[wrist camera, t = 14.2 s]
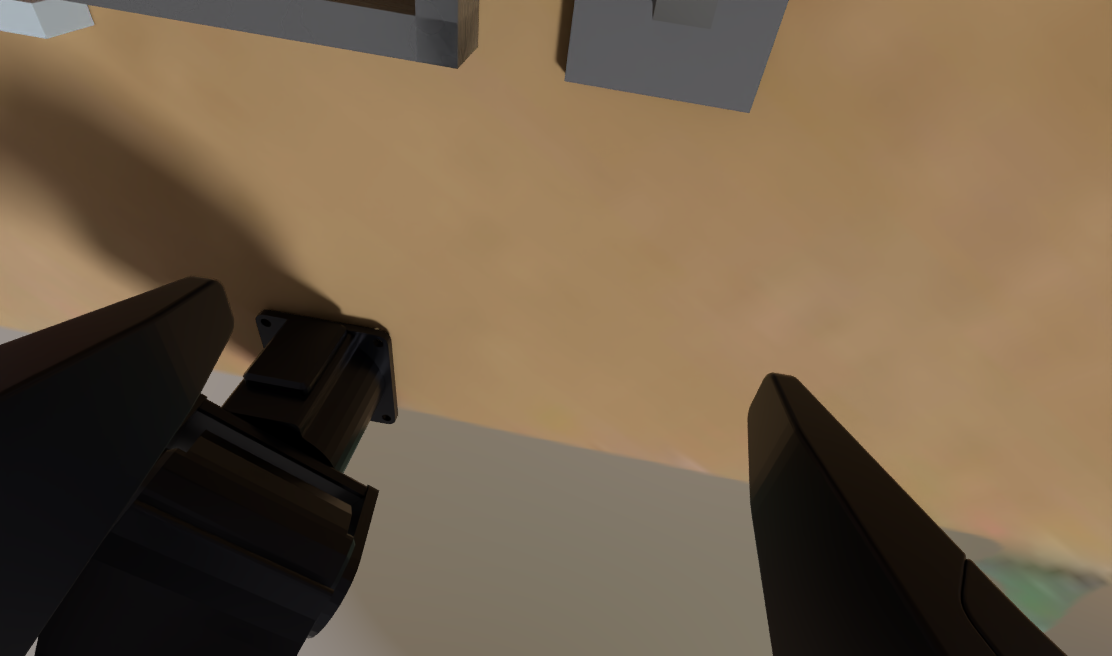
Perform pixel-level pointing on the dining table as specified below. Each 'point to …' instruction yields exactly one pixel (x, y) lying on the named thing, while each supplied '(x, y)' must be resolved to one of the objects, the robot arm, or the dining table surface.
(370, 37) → the slot channel
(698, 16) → the t-shaped scraper
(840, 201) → the dining table surface
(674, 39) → the mat
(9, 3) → the tray
